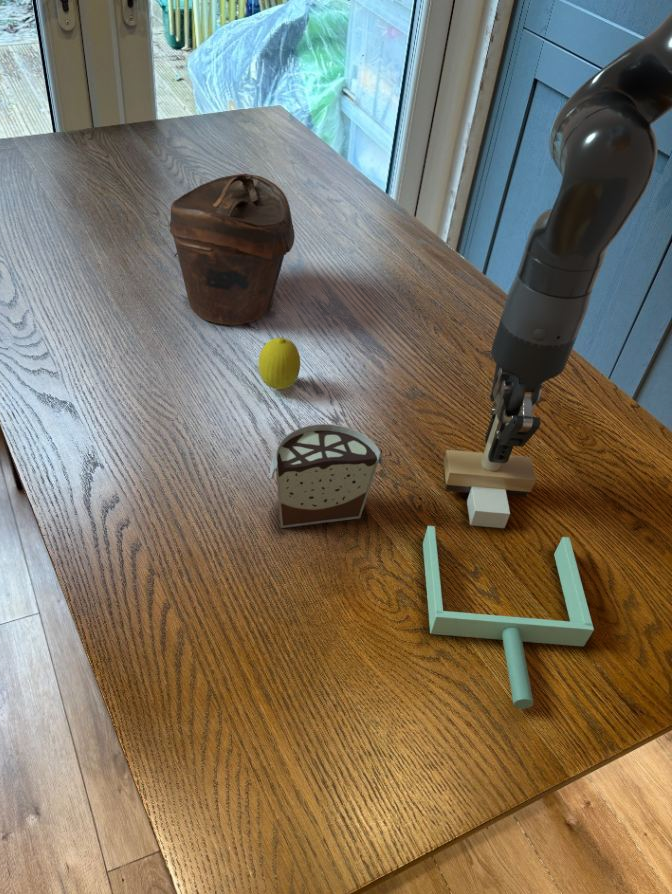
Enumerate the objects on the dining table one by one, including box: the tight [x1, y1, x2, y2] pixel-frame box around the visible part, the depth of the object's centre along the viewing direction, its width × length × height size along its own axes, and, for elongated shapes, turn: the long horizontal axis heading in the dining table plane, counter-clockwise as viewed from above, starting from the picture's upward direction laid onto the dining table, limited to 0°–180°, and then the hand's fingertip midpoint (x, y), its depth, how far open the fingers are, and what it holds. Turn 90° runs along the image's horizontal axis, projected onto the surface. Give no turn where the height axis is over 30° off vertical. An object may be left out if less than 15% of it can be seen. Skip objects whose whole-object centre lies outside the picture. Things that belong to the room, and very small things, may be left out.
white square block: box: [466, 486, 511, 529], centre depth 87 cm, size 4×4×2 cm
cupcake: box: [269, 423, 384, 529], centre depth 84 cm, size 12×6×10 cm, turn 102°
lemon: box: [258, 337, 301, 390], centre depth 99 cm, size 6×6×8 cm
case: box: [169, 173, 296, 326], centre depth 110 cm, size 18×20×18 cm
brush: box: [442, 414, 537, 499], centre depth 86 cm, size 4×10×10 cm, turn 86°
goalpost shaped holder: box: [422, 525, 595, 710], centre depth 76 cm, size 20×16×3 cm
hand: (495, 451), depth 86 cm, fingers closed on brush, 2 cm apart
